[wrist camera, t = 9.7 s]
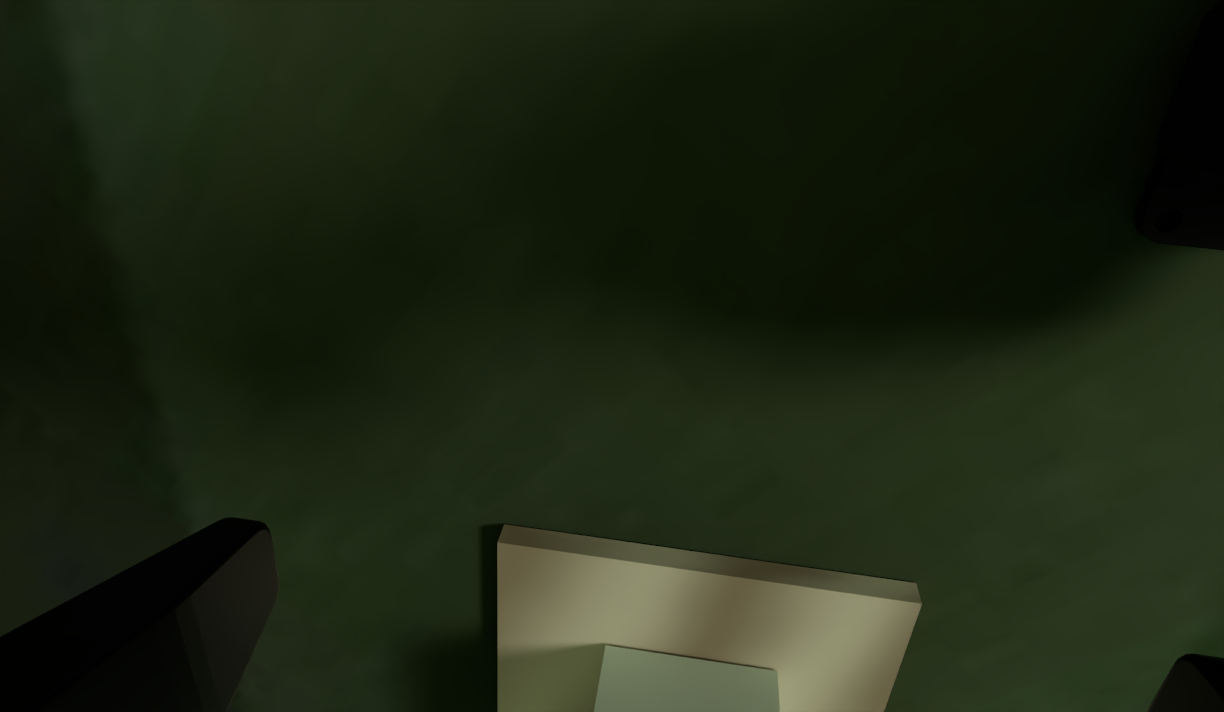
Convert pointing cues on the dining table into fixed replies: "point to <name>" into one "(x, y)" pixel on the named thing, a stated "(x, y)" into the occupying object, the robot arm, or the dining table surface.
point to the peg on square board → (690, 621)
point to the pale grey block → (681, 684)
